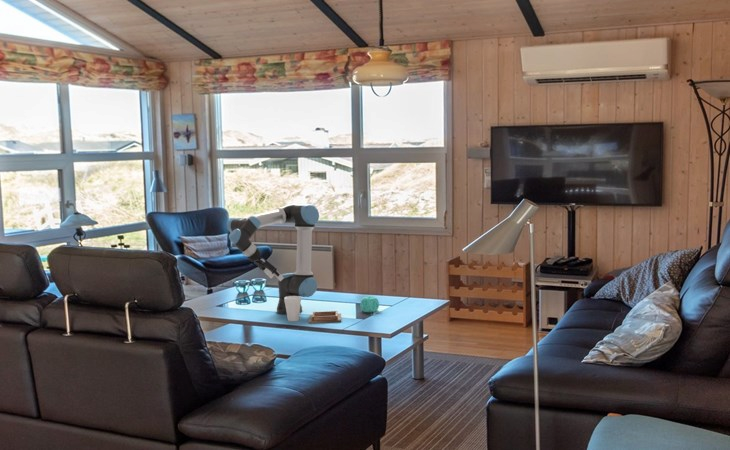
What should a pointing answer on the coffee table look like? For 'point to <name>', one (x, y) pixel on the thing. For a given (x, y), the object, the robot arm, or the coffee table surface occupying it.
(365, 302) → the green textured ball
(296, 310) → the foam cup
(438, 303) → the coffee table surface
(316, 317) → the dock board
